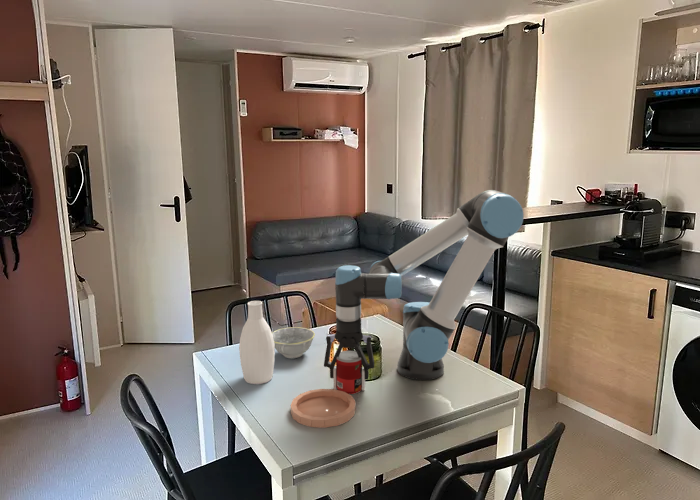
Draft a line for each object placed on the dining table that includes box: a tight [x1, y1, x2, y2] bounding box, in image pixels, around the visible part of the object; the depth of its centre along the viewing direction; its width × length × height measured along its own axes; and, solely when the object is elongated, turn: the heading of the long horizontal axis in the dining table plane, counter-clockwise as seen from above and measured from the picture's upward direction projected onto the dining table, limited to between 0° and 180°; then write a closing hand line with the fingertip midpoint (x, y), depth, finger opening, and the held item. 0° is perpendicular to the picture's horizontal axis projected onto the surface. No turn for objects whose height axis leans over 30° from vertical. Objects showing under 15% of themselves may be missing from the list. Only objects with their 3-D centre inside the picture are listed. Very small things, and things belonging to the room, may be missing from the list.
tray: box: [290, 388, 357, 429], centre depth 151 cm, size 18×18×2 cm
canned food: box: [335, 350, 363, 395], centre depth 163 cm, size 8×8×11 cm
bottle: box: [238, 300, 275, 385], centre depth 170 cm, size 11×11×25 cm
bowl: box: [271, 326, 315, 359], centre depth 190 cm, size 16×16×8 cm
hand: (349, 388), depth 164 cm, fingers closed on canned food, 8 cm apart
